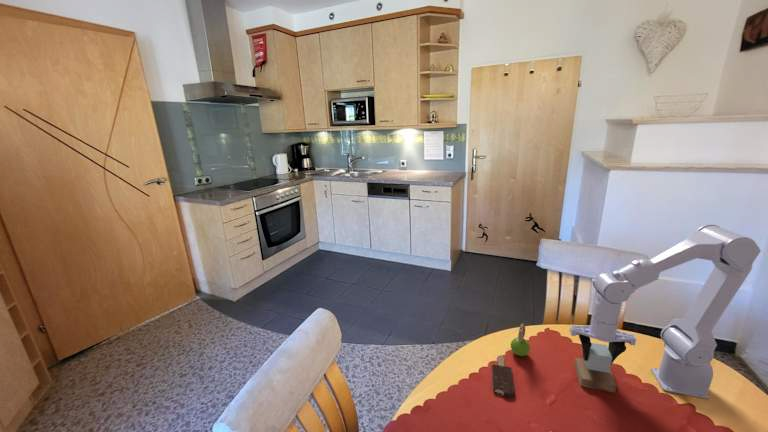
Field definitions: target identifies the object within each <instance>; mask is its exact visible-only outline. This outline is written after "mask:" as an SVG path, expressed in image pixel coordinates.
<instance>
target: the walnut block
mask: <svg viewBox="0 0 768 432" xmlns="http://www.w3.org/2000/svg"><path fill="white" fill-rule="evenodd" d="M574 369H575V372H576V375H577V379H578V382H579V386H580V387H583V388H588V389H589V388H590V389H594V390H599V391H604V392H609V393H614V394H615V393H616V389H617V383H616V382H617V381H615V378H614V375H613V373H612V371H611V369H610V371H609V373H607V372H601V371H596V370H590V369H587V366H586V363H585V360H584V358H580V357H575V358H574Z"/></svg>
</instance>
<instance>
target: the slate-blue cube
mask: <svg viewBox="0 0 768 432" xmlns="http://www.w3.org/2000/svg"><path fill="white" fill-rule="evenodd" d="M591 344H592V346H591V348H590V351H589V356H588V360H587V361H585V363H586V366H587V369H590V370H596V371H601V372H607V373H609V371H610V370H611V367H612V365H611V362H612V356H611V354H610V351H609V349H608V347H609V346H608V345H607V344H603V343H597V342H591Z"/></svg>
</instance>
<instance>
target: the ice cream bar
mask: <svg viewBox="0 0 768 432" xmlns="http://www.w3.org/2000/svg"><path fill="white" fill-rule="evenodd" d="M491 370H492V371H491V373H493V375H492V388H493V389H492V390H493V392H492V393H493V394H495V392H497V393H498V394H500V393H501V394H500V395H502V396H503V398H507V399H512V398H514V397H515V394H516V393H515V385H514V379H513V378H514V377H513V372H512V371H513V370H512V367H509V366H505V359H504V356H502V355H498V356H497V364H492V366H491ZM497 393H496V394H497Z"/></svg>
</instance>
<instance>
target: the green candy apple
mask: <svg viewBox="0 0 768 432" xmlns="http://www.w3.org/2000/svg"><path fill="white" fill-rule="evenodd" d="M525 334H526V325H525V323H521V324H520V326H519V329H518V335H517V337H515V338H513V339H512V340H511V342H510V349H511V351H512V352H513V354H514V355H516V356H519V357H525V356H527V355H528V354H529V353H530V350H531V346H530V344H529V341H528V340H527V339H525Z"/></svg>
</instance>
